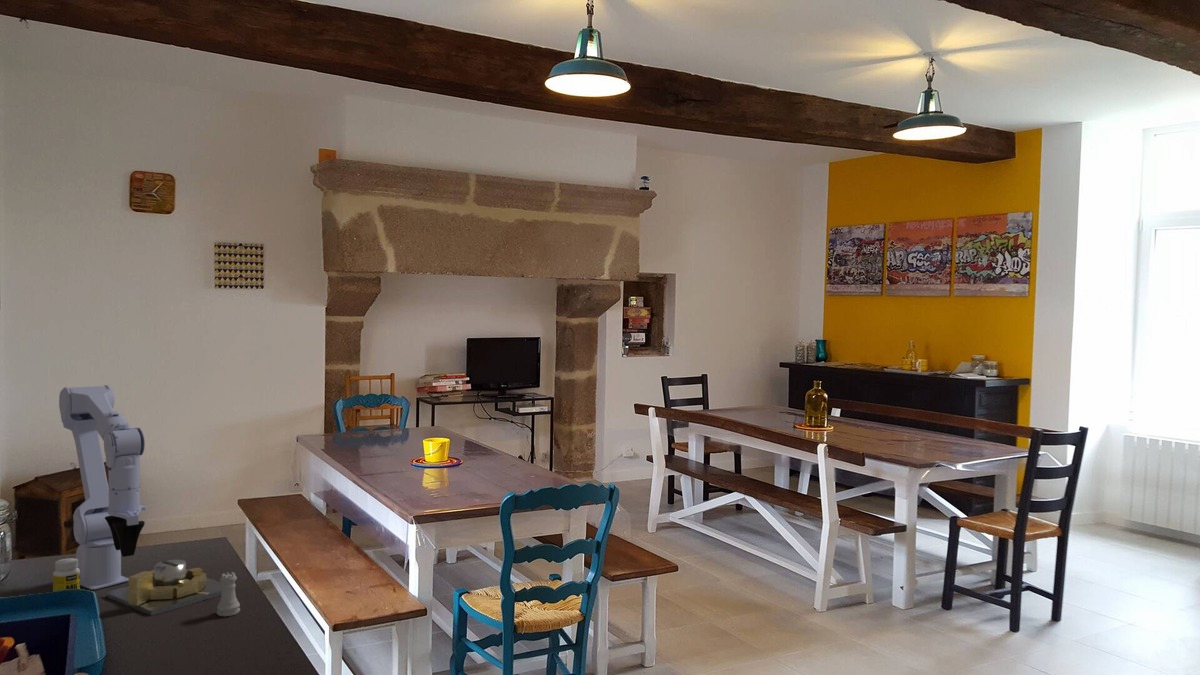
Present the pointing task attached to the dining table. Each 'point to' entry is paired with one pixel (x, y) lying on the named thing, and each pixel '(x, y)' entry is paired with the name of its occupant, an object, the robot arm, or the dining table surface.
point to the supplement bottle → (66, 574)
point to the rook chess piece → (228, 596)
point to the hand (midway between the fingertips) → (124, 552)
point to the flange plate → (167, 602)
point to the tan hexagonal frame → (146, 590)
